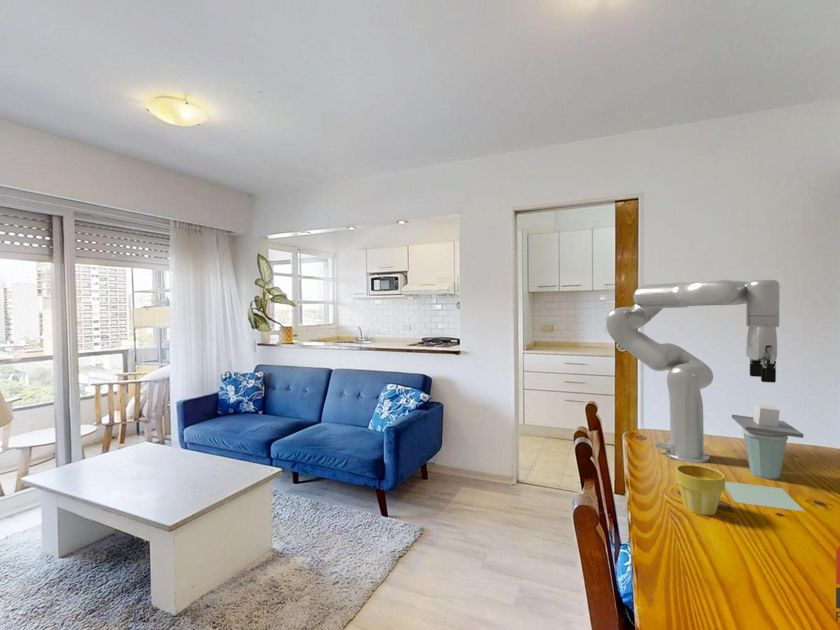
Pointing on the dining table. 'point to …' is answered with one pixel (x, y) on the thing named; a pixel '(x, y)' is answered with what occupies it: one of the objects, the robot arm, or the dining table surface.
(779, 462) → the disposable coffee cup
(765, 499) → the mat
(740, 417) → the lid
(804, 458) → the dining table surface
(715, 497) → the plant pot
